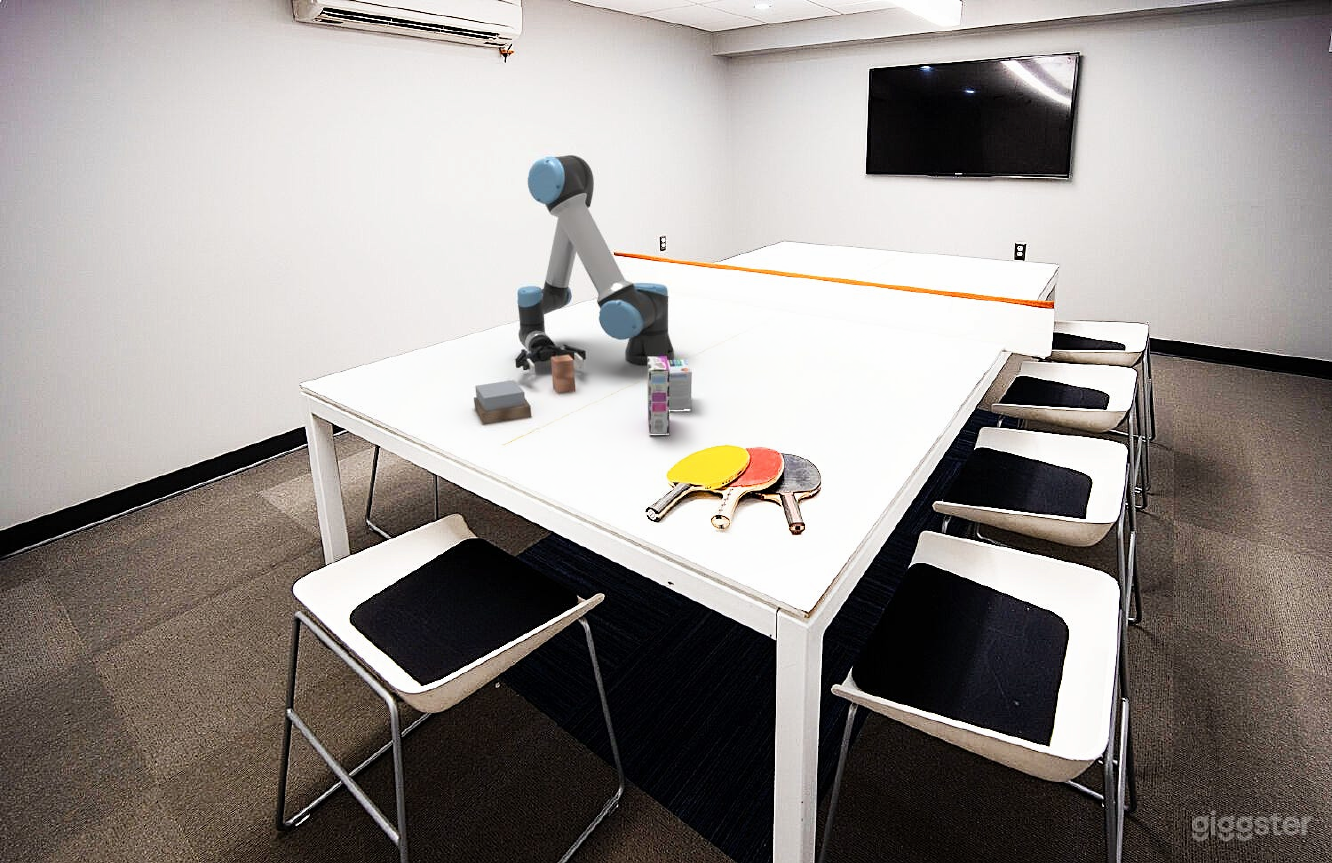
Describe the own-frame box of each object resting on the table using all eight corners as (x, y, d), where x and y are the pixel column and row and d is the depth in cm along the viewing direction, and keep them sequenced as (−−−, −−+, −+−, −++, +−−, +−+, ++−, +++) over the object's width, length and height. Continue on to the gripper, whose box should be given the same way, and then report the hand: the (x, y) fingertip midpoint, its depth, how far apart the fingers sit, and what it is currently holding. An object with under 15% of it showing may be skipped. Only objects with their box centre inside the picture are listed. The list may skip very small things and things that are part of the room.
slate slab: (515, 392, 191) (513, 379, 190) (525, 404, 183) (524, 391, 181) (476, 398, 187) (475, 385, 186) (485, 411, 179) (484, 398, 177)
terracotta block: (570, 385, 204) (568, 354, 201) (575, 391, 200) (573, 359, 197) (553, 388, 203) (550, 357, 199) (557, 393, 198) (555, 362, 195)
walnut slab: (521, 403, 194) (519, 390, 192) (531, 419, 183) (530, 406, 182) (475, 410, 189) (473, 397, 188) (483, 426, 179) (481, 413, 178)
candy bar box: (670, 436, 172) (670, 369, 165) (649, 436, 171) (648, 370, 165) (667, 418, 182) (667, 355, 175) (647, 418, 182) (646, 355, 175)
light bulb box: (662, 398, 195) (662, 359, 191) (687, 397, 195) (687, 358, 191) (666, 412, 185) (665, 372, 181) (692, 411, 186) (692, 371, 181)
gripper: (581, 353, 224) (602, 374, 206) (499, 363, 216) (514, 386, 198) (580, 329, 221) (600, 348, 203) (497, 339, 213) (511, 359, 195)
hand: (558, 367), depth 201 cm, fingers open, 13 cm apart
